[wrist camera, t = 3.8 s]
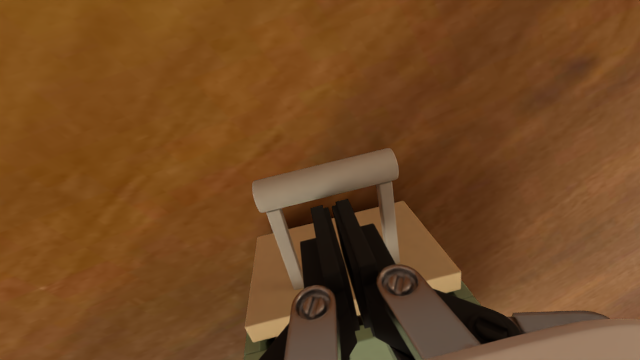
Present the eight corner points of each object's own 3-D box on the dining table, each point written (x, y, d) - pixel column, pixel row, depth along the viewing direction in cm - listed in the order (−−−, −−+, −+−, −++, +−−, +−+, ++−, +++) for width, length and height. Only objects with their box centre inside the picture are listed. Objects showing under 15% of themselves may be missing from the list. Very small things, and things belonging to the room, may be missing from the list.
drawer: (224, 153, 16) (187, 218, 10) (396, 112, 16) (466, 148, 10) (303, 352, 24) (309, 452, 18) (413, 324, 25) (456, 413, 18)
